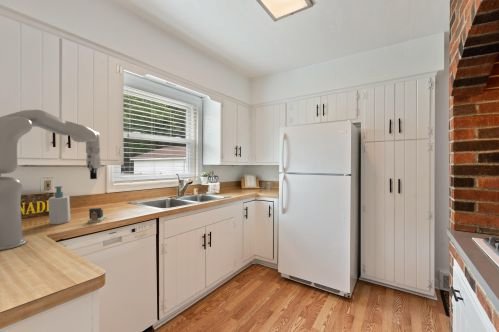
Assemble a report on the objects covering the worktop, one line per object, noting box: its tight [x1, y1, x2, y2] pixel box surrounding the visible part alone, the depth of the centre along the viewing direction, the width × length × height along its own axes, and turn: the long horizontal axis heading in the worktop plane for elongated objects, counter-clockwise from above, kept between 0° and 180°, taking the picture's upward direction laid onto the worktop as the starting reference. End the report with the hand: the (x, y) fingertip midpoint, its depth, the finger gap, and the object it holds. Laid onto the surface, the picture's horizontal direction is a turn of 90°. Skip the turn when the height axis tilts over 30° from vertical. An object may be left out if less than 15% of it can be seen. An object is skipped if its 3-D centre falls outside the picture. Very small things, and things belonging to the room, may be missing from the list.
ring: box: [88, 207, 102, 220], centre depth 148 cm, size 6×2×6 cm, turn 103°
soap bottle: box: [47, 185, 71, 225], centre depth 145 cm, size 10×9×22 cm
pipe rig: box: [87, 208, 107, 224], centre depth 150 cm, size 7×10×6 cm
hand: (93, 178), depth 155 cm, fingers closed
